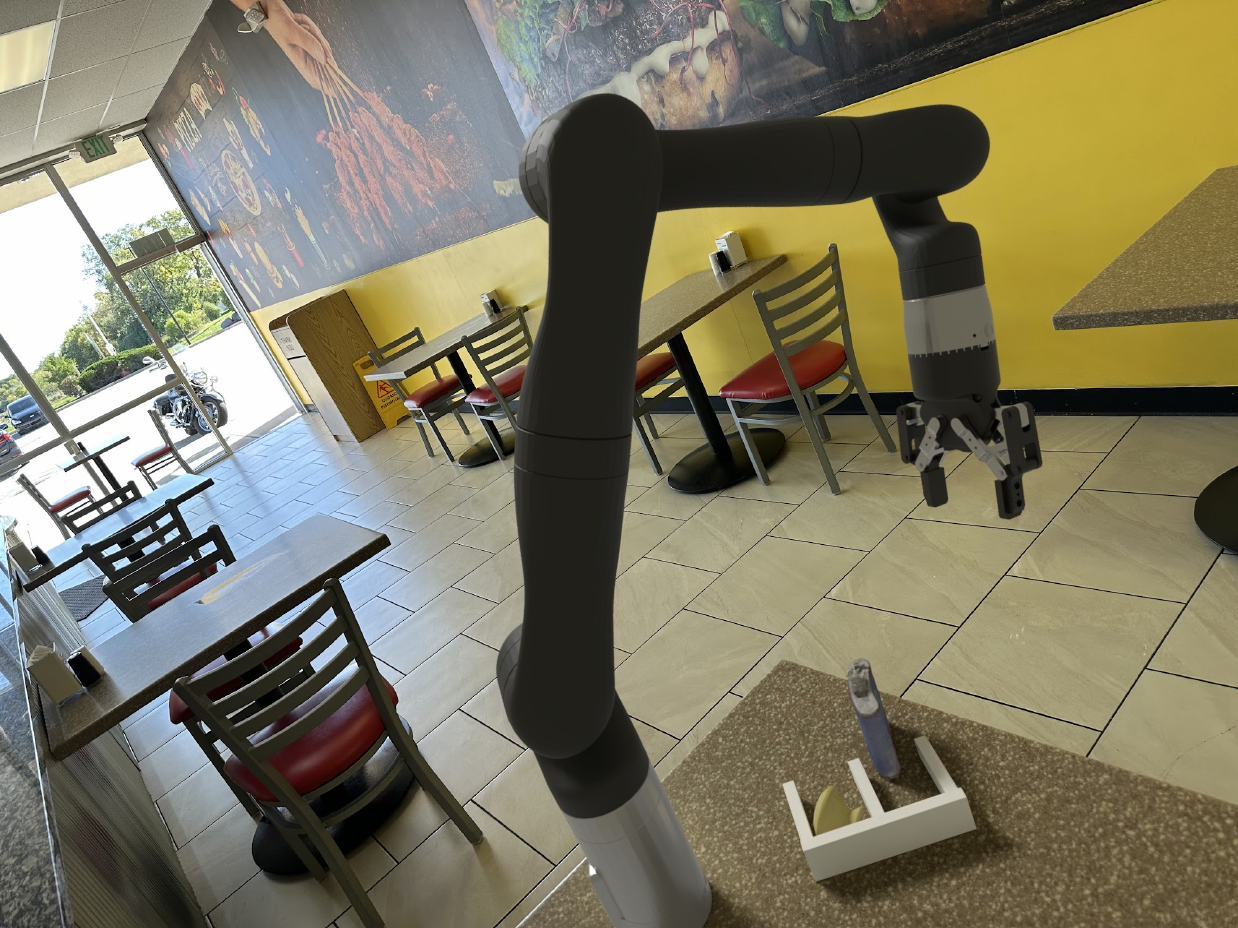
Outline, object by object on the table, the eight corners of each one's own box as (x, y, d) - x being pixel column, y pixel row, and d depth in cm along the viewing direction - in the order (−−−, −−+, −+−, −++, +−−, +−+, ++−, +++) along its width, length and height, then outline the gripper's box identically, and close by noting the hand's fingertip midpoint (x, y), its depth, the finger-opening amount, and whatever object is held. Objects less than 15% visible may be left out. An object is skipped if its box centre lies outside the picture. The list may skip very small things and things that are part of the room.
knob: (813, 849, 78) (798, 812, 76) (830, 807, 81) (816, 771, 80) (860, 859, 75) (845, 821, 73) (875, 816, 78) (861, 778, 77)
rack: (815, 881, 74) (803, 851, 73) (789, 801, 84) (778, 773, 83) (976, 828, 73) (966, 796, 72) (930, 753, 83) (921, 723, 81)
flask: (904, 778, 81) (876, 697, 78) (875, 783, 82) (846, 703, 78) (888, 717, 90) (863, 641, 86) (863, 722, 90) (836, 647, 87)
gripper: (865, 354, 78) (889, 512, 80) (985, 345, 65) (1009, 534, 67) (922, 339, 80) (943, 492, 83) (1048, 328, 67) (1068, 509, 70)
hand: (973, 510), depth 75 cm, fingers open, 8 cm apart
